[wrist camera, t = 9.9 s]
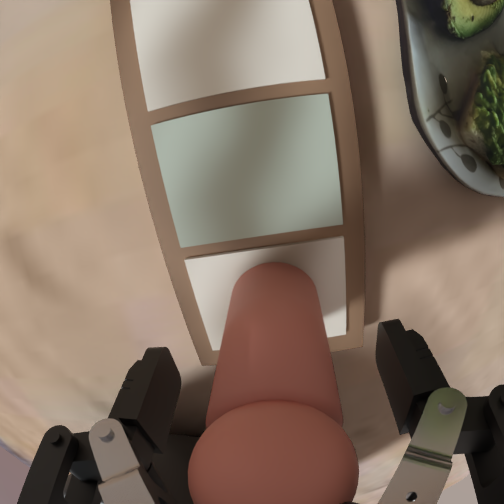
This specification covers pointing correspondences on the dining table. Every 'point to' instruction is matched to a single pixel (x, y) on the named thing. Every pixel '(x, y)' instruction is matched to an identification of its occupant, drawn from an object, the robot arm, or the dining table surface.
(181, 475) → the coal bowl
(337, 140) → the board
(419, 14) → the salad plate
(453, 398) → the robot arm
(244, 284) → the pawn
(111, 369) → the dining table surface
